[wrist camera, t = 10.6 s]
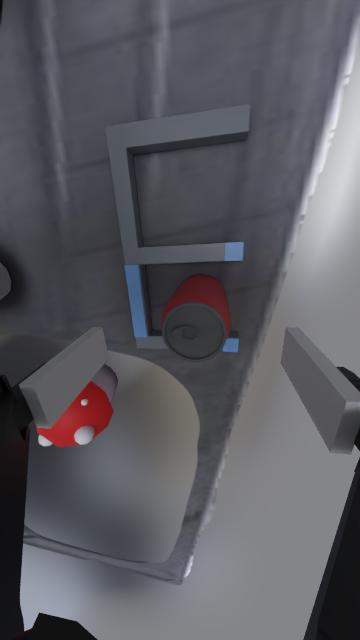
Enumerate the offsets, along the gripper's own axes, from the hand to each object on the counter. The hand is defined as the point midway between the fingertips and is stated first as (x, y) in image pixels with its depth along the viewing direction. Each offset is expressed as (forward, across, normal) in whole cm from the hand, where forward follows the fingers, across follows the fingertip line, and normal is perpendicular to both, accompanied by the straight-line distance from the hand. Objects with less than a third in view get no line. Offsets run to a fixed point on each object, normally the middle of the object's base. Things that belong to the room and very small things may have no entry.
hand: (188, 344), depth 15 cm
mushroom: (+15, -18, -15) cm, 27 cm away
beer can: (+15, 0, -1) cm, 15 cm away
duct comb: (+15, -2, +5) cm, 16 cm away
